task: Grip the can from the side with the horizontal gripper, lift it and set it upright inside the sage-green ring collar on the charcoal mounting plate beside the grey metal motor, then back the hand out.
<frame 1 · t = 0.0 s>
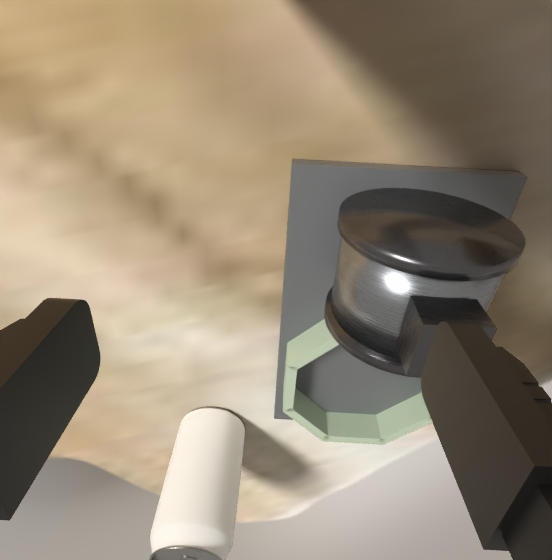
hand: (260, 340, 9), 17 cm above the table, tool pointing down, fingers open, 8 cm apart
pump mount: (359, 361, 33), on the table
motor: (393, 237, 25), resting on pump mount
can: (214, 423, 39), on the table
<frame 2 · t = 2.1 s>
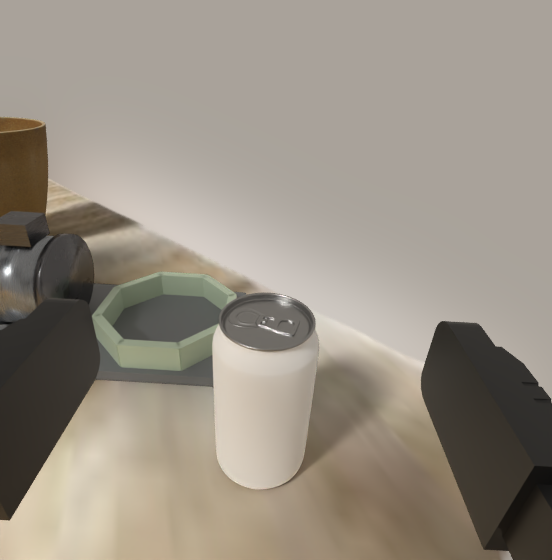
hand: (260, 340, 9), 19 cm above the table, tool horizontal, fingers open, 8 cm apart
plant pot: (14, 241, 56), on the table
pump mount: (171, 332, 40), on the table
motor: (47, 317, 39), resting on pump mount
can: (260, 452, 28), on the table
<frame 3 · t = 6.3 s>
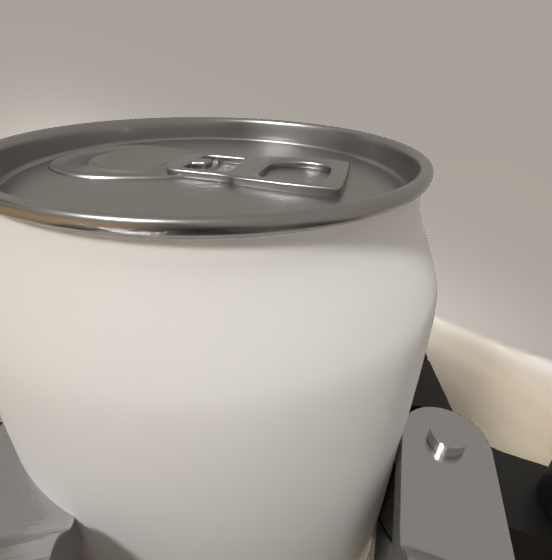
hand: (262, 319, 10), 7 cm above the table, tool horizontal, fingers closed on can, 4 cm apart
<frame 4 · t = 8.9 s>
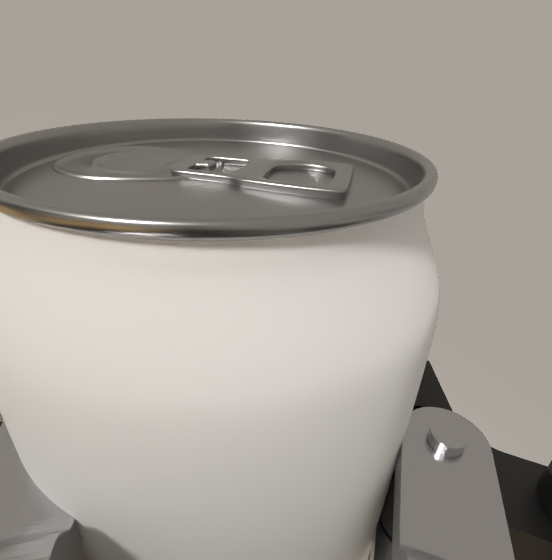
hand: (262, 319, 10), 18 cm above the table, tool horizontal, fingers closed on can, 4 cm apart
when the fingers open (9 cm above the table, at t = 11.5 s): can stays where it is, resting on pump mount.
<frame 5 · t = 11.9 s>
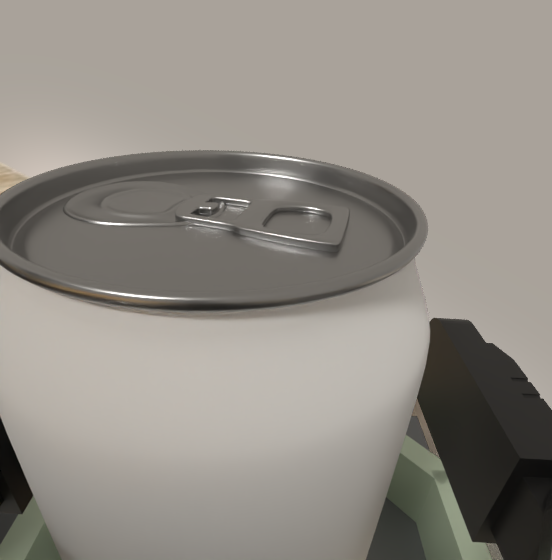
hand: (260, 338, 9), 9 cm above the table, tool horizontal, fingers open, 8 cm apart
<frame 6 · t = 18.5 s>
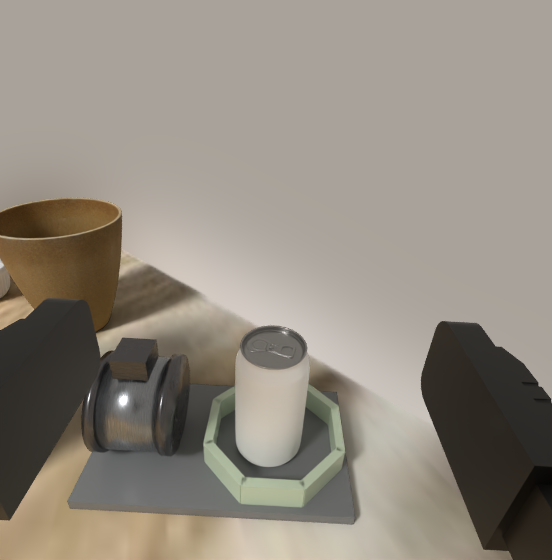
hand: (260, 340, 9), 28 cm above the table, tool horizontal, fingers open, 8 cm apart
plant pot: (82, 321, 55), on the table
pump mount: (273, 447, 39), on the table
motor: (147, 433, 38), resting on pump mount
can: (268, 441, 38), point 1 cm above the table, touching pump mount
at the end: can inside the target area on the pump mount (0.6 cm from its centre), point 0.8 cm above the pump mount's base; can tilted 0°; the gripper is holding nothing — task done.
